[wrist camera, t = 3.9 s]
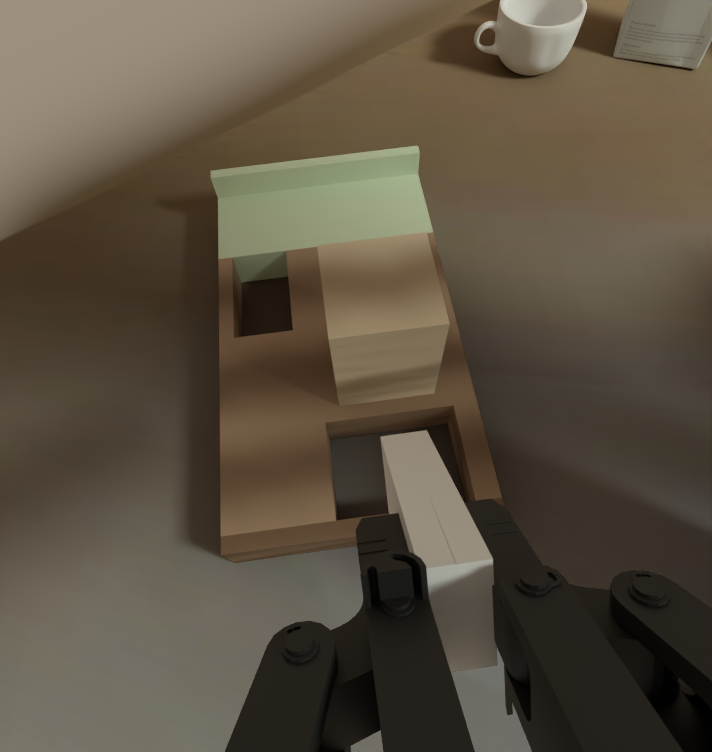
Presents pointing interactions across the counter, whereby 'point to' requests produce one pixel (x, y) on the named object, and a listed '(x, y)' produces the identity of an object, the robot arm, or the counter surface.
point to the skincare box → (666, 32)
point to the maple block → (383, 317)
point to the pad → (315, 206)
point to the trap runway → (316, 421)
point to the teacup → (534, 33)
